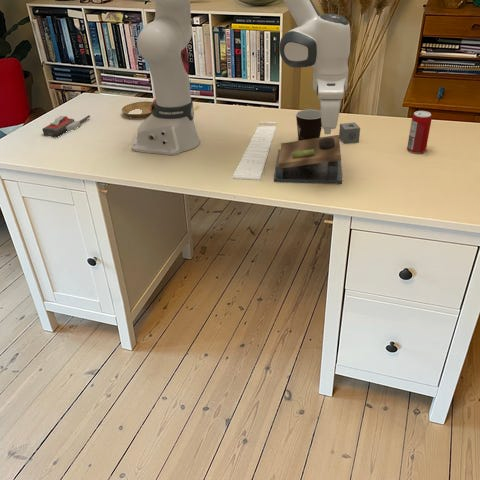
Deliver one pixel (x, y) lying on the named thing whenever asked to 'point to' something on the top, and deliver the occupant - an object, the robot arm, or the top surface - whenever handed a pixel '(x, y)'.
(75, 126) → the toy chainsaw
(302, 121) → the coffee mug
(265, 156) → the keyboard
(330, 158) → the levelling board
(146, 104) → the plant saucer
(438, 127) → the top surface
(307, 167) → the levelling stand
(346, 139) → the dice cube
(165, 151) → the robot arm
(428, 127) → the soda can
